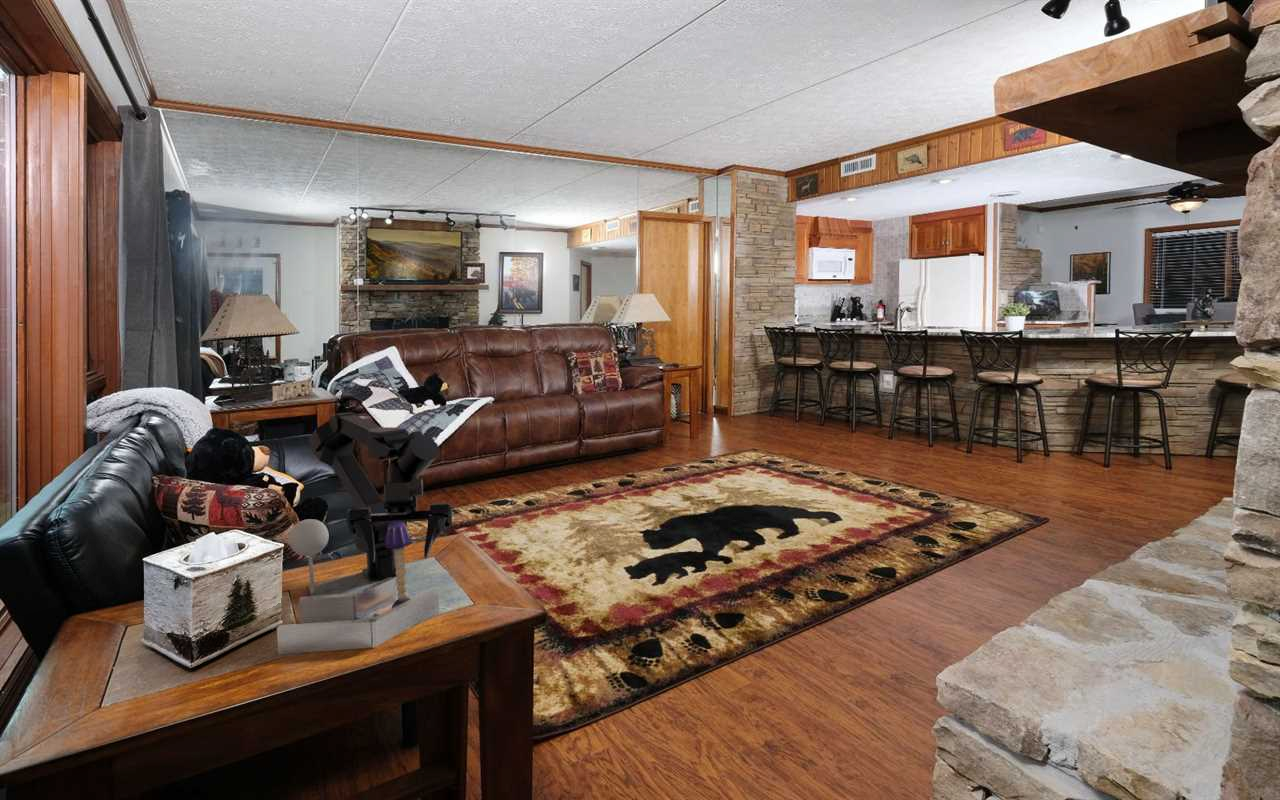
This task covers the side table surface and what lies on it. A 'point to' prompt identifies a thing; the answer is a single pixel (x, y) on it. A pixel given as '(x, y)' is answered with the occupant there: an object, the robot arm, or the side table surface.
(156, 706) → the side table surface
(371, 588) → the bent rails
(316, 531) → the lollipop
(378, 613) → the end pad
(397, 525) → the toy lamp
